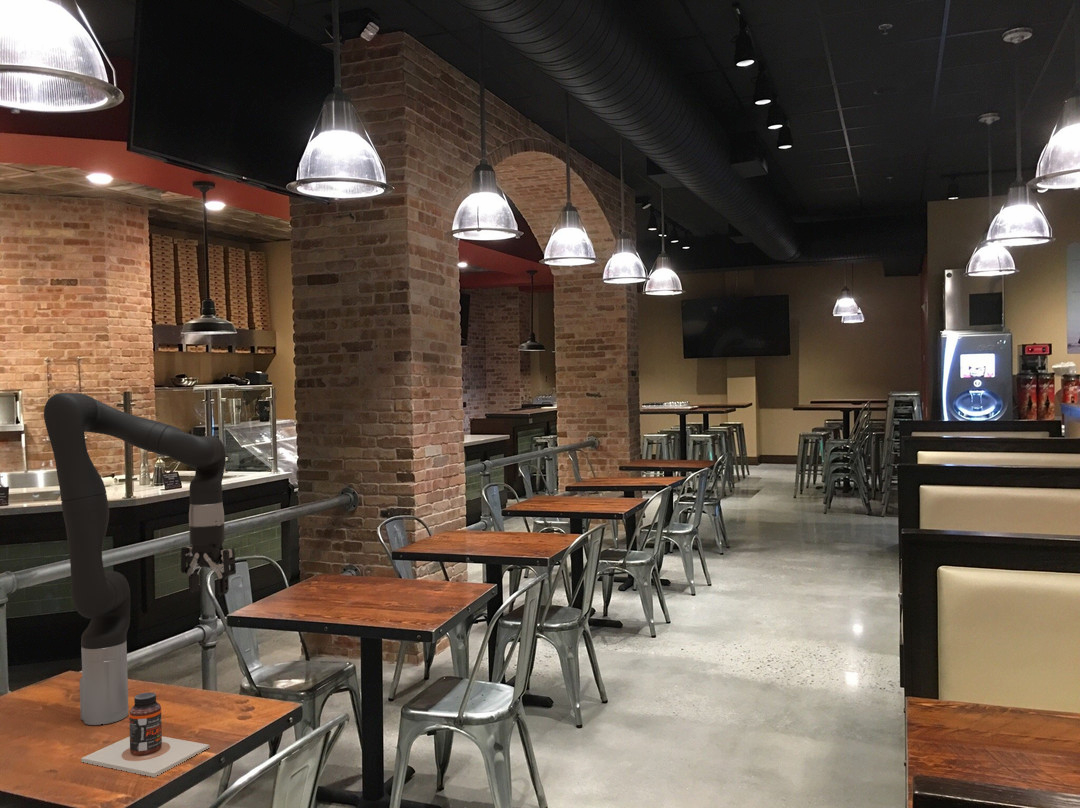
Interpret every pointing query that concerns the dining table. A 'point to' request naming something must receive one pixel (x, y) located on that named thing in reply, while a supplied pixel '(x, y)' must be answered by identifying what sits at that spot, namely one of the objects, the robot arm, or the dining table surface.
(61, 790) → the dining table surface
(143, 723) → the supplement bottle
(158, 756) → the board
